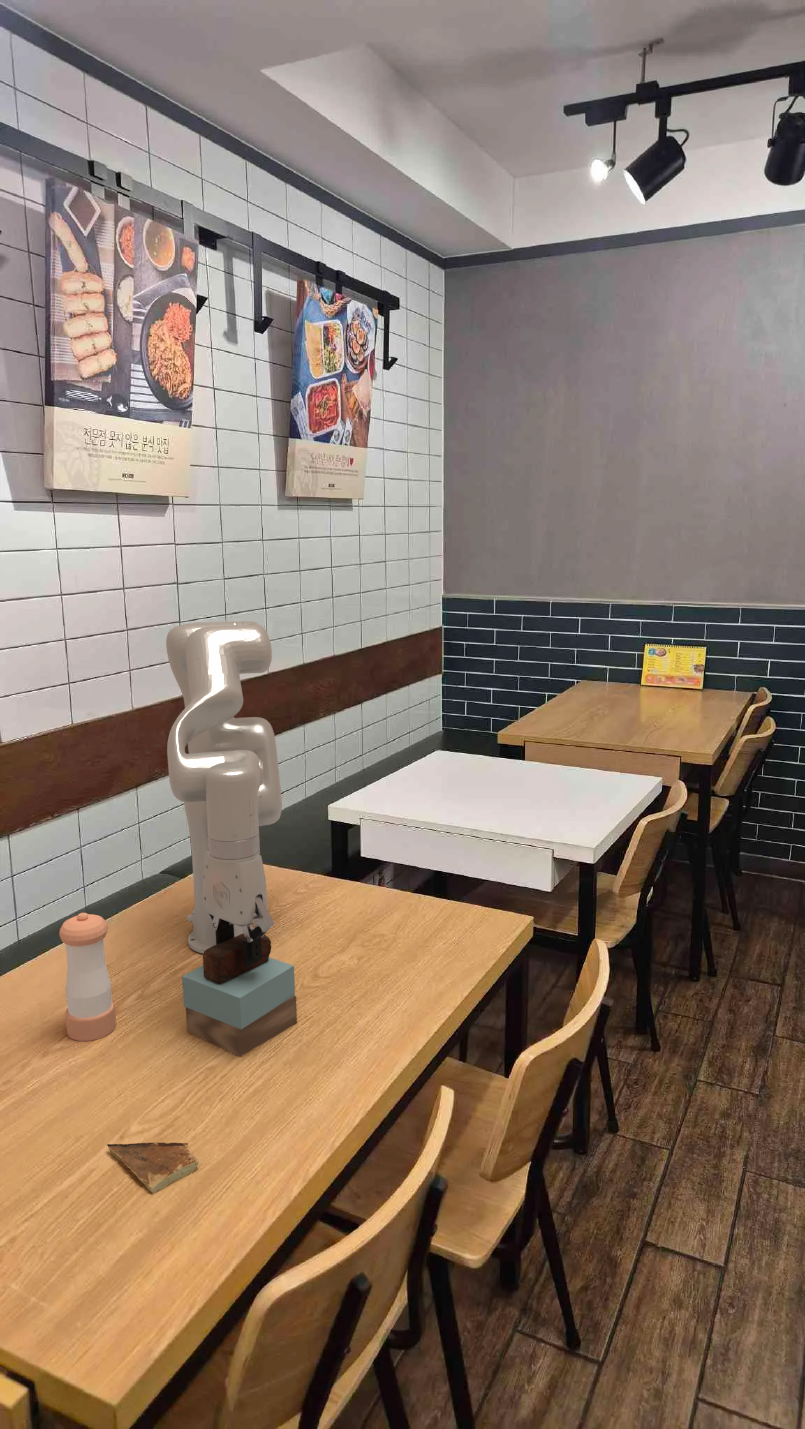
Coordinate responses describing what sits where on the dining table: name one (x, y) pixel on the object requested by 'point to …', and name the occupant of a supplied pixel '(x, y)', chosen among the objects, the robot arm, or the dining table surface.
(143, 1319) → the dining table surface
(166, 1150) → the shard
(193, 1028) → the tower base
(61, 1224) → the dining table surface
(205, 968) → the brick
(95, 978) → the salt shaker
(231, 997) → the tower top
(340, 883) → the dining table surface
